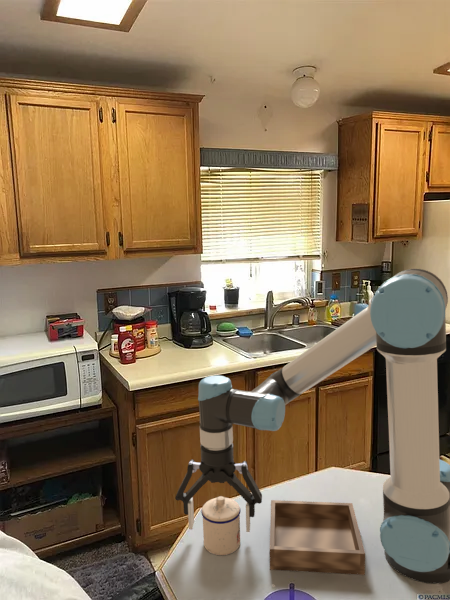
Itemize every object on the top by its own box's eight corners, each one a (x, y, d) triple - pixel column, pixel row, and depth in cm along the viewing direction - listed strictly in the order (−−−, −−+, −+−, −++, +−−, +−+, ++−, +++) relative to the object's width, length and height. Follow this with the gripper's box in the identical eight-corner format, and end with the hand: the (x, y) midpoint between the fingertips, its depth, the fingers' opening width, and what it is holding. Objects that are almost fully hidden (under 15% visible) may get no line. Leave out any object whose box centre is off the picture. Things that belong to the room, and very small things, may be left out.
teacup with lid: (247, 551, 108) (245, 504, 106) (209, 561, 105) (207, 513, 103) (229, 520, 119) (228, 478, 117) (195, 528, 116) (193, 485, 114)
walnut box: (352, 521, 117) (352, 503, 116) (364, 574, 99) (365, 553, 99) (271, 518, 119) (271, 500, 119) (270, 569, 102) (269, 549, 101)
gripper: (271, 437, 110) (272, 519, 114) (167, 434, 113) (171, 515, 117) (270, 452, 103) (272, 540, 106) (159, 449, 106) (164, 534, 109)
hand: (219, 527), depth 111 cm, fingers open, 13 cm apart
